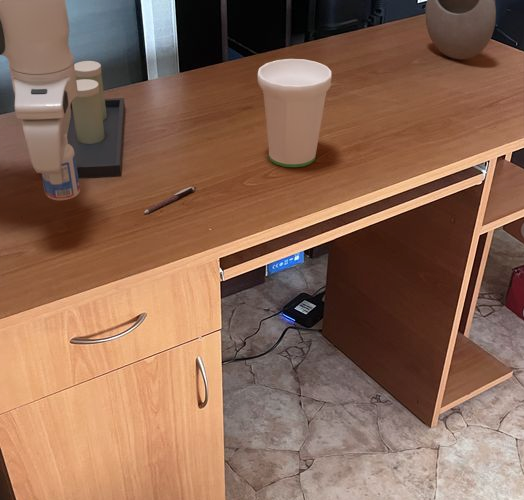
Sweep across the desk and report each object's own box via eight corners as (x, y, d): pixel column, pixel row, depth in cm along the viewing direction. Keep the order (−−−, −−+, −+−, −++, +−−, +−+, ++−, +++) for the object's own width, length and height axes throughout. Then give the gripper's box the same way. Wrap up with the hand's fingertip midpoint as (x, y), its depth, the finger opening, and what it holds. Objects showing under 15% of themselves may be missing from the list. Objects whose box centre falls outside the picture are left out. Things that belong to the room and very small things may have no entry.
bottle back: (79, 123, 149) (71, 71, 143) (81, 112, 153) (73, 61, 147) (106, 122, 150) (100, 70, 143) (107, 111, 154) (101, 60, 147)
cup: (254, 142, 145) (254, 59, 135) (321, 140, 146) (325, 57, 136) (260, 174, 135) (261, 87, 125) (332, 171, 136) (338, 85, 126)
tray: (52, 179, 134) (50, 168, 132) (66, 110, 155) (64, 100, 154) (121, 176, 135) (119, 165, 133) (125, 108, 156) (124, 97, 155)
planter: (411, 50, 182) (422, -38, 170) (431, 43, 185) (444, -43, 173) (474, 73, 171) (491, -19, 159) (495, 65, 175) (513, -25, 162)
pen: (194, 189, 131) (193, 183, 131) (197, 190, 131) (196, 185, 130) (141, 214, 125) (141, 208, 124) (145, 216, 125) (144, 210, 124)
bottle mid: (75, 144, 142) (67, 91, 136) (77, 132, 146) (69, 79, 140) (104, 143, 143) (97, 89, 136) (106, 131, 147) (99, 78, 140)
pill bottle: (59, 181, 125) (50, 123, 119) (87, 189, 124) (79, 130, 117) (37, 196, 122) (26, 137, 115) (66, 204, 120) (56, 145, 114)
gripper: (30, 56, 119) (45, 142, 128) (12, 113, 103) (30, 205, 112) (73, 56, 120) (84, 141, 128) (61, 112, 104) (75, 204, 113)
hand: (59, 171), depth 120 cm, fingers closed on pill bottle, 5 cm apart
